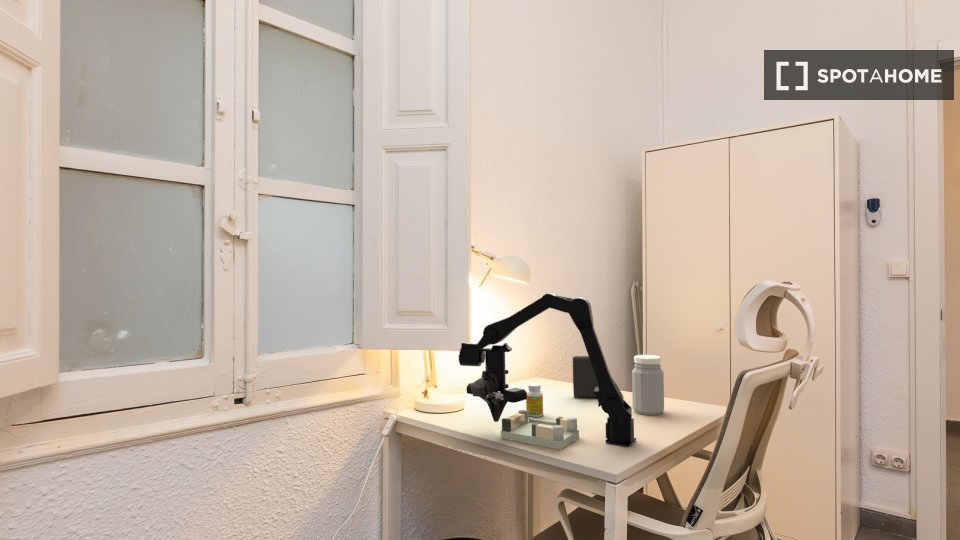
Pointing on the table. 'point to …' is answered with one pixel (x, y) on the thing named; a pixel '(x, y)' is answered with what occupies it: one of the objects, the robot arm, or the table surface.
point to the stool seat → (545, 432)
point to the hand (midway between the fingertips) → (496, 421)
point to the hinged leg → (515, 420)
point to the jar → (648, 385)
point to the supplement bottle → (534, 400)
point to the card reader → (583, 377)
